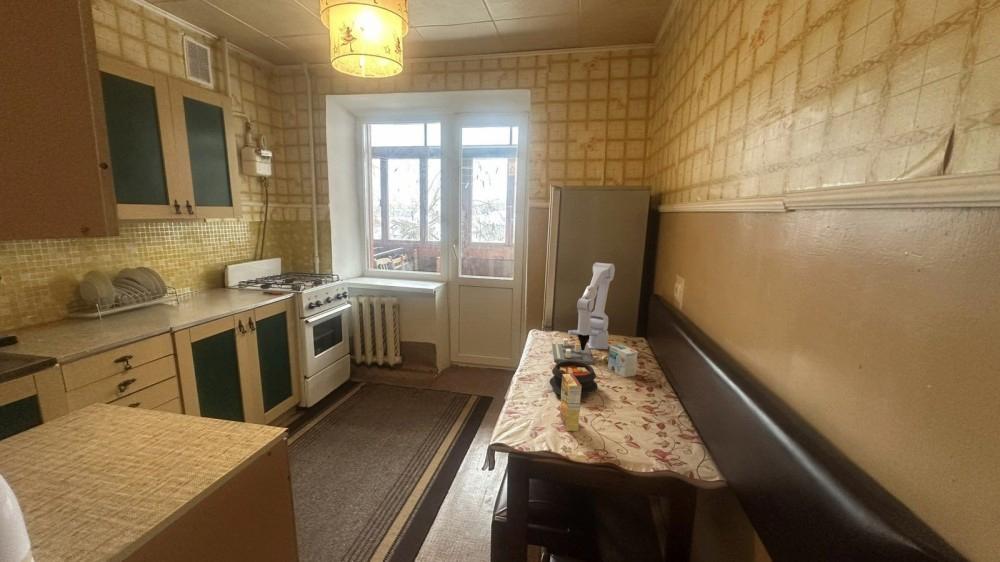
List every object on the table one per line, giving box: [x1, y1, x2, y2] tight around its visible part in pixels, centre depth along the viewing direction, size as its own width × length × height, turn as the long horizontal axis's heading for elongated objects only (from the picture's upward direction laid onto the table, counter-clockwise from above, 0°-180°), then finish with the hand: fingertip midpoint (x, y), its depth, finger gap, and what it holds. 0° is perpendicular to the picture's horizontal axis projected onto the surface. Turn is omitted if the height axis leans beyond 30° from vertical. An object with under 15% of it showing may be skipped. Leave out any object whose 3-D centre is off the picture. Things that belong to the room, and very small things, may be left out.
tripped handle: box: [574, 342, 581, 352], centre depth 183 cm, size 2×3×4 cm, turn 175°
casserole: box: [549, 361, 598, 399], centre depth 147 cm, size 25×19×8 cm
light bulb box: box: [607, 343, 638, 378], centre depth 163 cm, size 11×7×11 cm, turn 25°
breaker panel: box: [551, 337, 595, 365], centre depth 183 cm, size 18×22×5 cm
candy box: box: [559, 374, 582, 432], centre depth 120 cm, size 9×4×15 cm, turn 6°
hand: (582, 349), depth 183 cm, fingers closed
